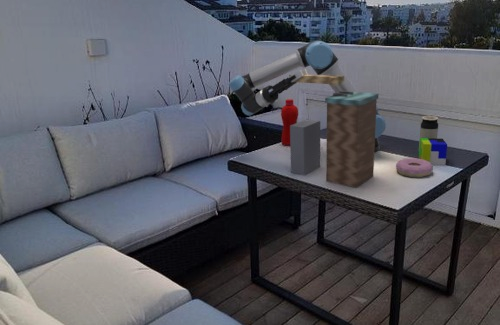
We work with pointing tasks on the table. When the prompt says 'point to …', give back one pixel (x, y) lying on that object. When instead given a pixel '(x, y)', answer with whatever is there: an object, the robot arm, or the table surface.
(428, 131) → the travel mug
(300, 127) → the plinth
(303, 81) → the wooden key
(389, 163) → the table surface
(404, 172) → the donut
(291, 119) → the water bottle
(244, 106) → the robot arm
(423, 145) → the puzzle toy
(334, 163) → the laundry hamper
